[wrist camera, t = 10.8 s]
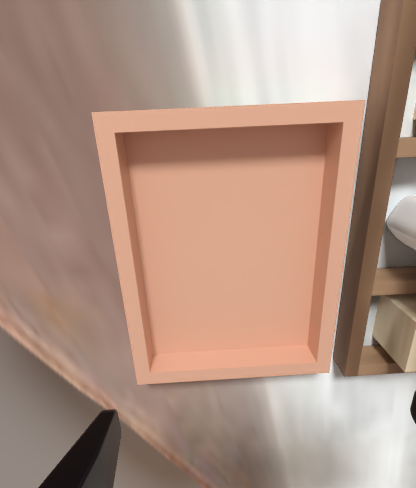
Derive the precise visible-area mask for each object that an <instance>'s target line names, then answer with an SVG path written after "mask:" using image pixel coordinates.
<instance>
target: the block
mask: <svg viewBox="0 0 416 488" xmlns="http://www.w3.org/2000/svg"><path fill="white" fill-rule="evenodd" d="M372 336H373V337H374V338H375V339H376V340H377V341H378V342H379V344H380V345H381V346H382V347H383V348H384V349H385V350H386V351H387V353H388V354H389V355H390V356H391V357H392V358H393V359H394V361H395V362H396V363H397V364H398V365H399V366H400V367H401V369H402V370H403V371H404V372H416V293H409V294H392V295H380V297H379V302H378V307H377V313H376V318H375V323H374V328H373V334H372Z"/></svg>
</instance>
